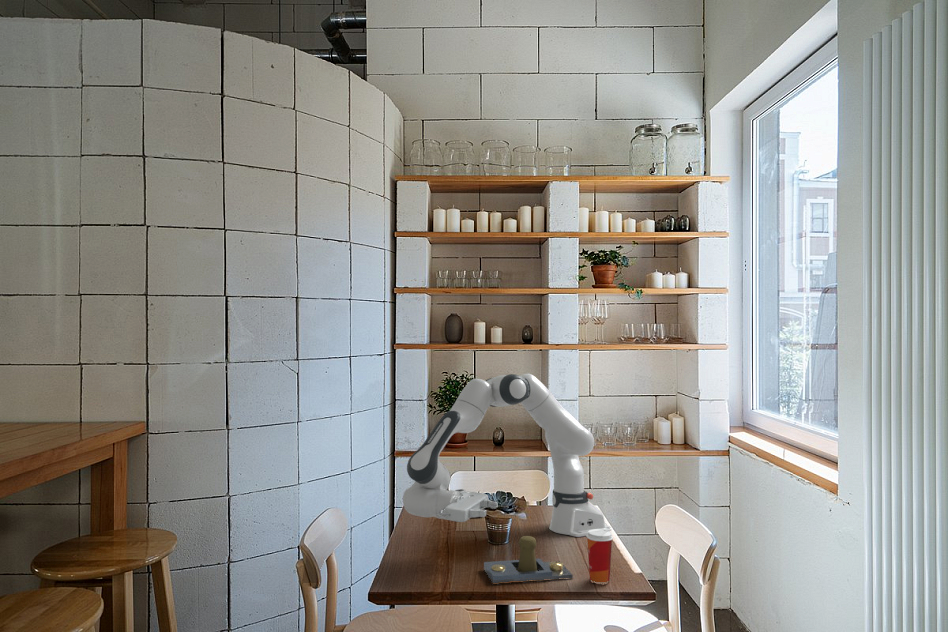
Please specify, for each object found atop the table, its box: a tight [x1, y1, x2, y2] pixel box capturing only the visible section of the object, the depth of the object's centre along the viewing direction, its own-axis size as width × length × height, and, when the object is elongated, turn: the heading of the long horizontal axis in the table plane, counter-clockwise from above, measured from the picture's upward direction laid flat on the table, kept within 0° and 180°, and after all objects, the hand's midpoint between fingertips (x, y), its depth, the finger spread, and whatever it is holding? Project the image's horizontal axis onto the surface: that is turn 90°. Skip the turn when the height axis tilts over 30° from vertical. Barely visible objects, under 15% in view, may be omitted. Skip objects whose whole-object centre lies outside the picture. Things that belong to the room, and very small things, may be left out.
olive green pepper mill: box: [517, 535, 538, 572], centre depth 186 cm, size 6×6×11 cm
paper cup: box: [585, 529, 614, 582], centre depth 181 cm, size 8×8×14 cm
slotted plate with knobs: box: [483, 558, 574, 583], centre depth 185 cm, size 24×12×3 cm, turn 102°
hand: (491, 509), depth 191 cm, fingers open, 8 cm apart
